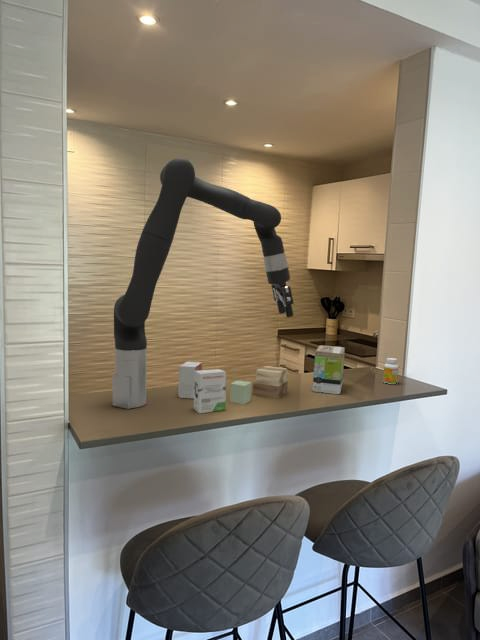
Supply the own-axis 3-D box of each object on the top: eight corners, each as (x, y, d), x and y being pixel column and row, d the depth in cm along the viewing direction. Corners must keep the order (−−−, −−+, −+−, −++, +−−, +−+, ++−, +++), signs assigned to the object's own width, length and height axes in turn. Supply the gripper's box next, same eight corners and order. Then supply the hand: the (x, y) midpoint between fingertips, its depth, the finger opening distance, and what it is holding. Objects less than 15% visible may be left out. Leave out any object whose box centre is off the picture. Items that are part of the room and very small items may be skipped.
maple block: (278, 386, 148) (279, 373, 148) (256, 383, 152) (256, 369, 151) (286, 381, 155) (287, 368, 155) (265, 378, 159) (265, 365, 158)
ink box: (219, 405, 139) (220, 368, 138) (226, 410, 134) (227, 371, 133) (192, 408, 135) (193, 369, 134) (198, 413, 131) (199, 373, 129)
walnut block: (277, 400, 148) (278, 386, 148) (252, 396, 152) (253, 383, 152) (287, 393, 156) (287, 381, 156) (263, 390, 160) (263, 377, 160)
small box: (194, 399, 145) (195, 367, 144) (177, 397, 146) (178, 365, 145) (201, 392, 153) (202, 362, 151) (185, 391, 154) (186, 361, 153)
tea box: (341, 395, 156) (343, 352, 155) (311, 392, 159) (314, 350, 157) (342, 384, 171) (345, 346, 169) (316, 382, 173) (318, 344, 172)
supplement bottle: (380, 382, 177) (381, 357, 176) (391, 381, 179) (393, 357, 178) (388, 385, 172) (390, 360, 171) (400, 384, 174) (402, 360, 173)
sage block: (244, 404, 141) (244, 385, 141) (229, 401, 143) (230, 383, 143) (250, 400, 146) (251, 382, 145) (236, 398, 148) (237, 380, 147)
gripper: (260, 269, 156) (270, 314, 159) (271, 271, 143) (281, 320, 146) (281, 264, 158) (290, 309, 161) (294, 266, 144) (303, 315, 147)
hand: (286, 314), depth 153 cm, fingers open, 8 cm apart
